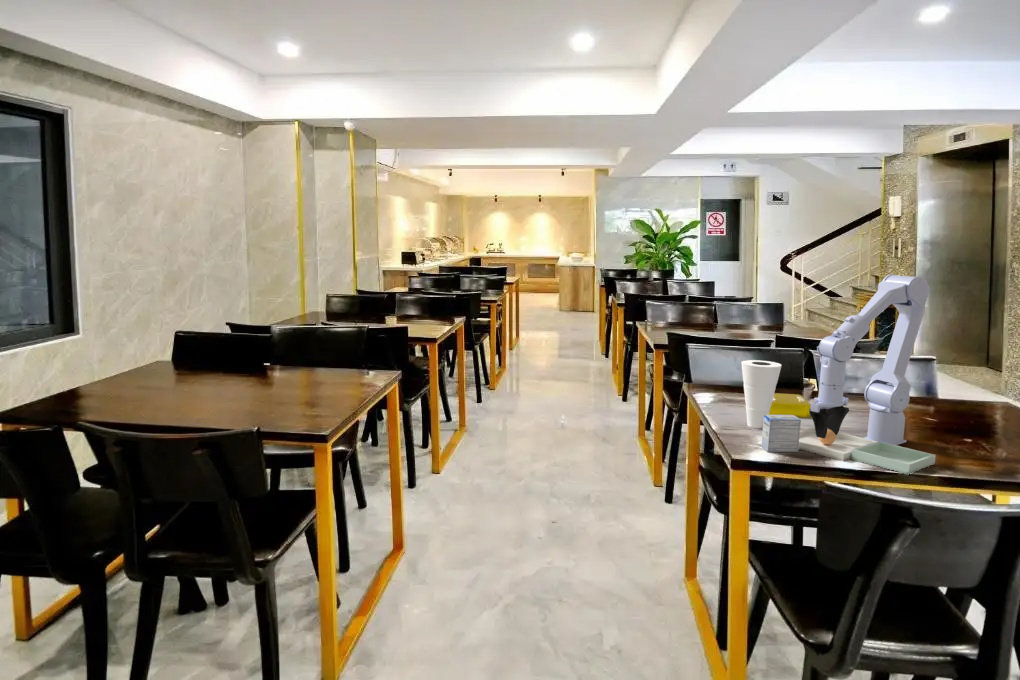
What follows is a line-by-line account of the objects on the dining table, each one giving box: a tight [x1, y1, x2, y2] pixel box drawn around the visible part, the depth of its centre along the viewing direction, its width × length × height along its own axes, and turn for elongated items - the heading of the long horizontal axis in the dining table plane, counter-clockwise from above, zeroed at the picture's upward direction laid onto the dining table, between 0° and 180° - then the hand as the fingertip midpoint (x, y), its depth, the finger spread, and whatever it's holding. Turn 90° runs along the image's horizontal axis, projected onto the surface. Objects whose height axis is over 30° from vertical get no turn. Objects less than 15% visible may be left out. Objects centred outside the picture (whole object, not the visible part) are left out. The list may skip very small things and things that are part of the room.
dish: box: [851, 442, 937, 476], centre depth 178 cm, size 13×13×2 cm
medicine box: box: [761, 415, 802, 453], centre depth 186 cm, size 8×4×9 cm, turn 92°
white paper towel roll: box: [740, 359, 782, 429], centre depth 207 cm, size 11×11×18 cm
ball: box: [819, 429, 836, 445], centre depth 190 cm, size 4×4×4 cm
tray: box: [798, 426, 877, 462], centre depth 191 cm, size 18×18×2 cm
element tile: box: [769, 392, 811, 419], centre depth 228 cm, size 15×15×5 cm
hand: (826, 435), depth 190 cm, fingers open, 5 cm apart
